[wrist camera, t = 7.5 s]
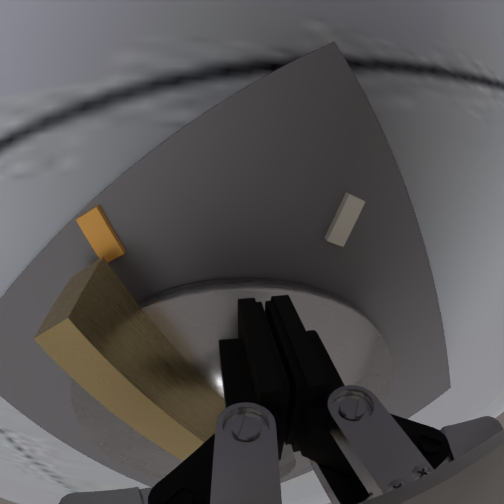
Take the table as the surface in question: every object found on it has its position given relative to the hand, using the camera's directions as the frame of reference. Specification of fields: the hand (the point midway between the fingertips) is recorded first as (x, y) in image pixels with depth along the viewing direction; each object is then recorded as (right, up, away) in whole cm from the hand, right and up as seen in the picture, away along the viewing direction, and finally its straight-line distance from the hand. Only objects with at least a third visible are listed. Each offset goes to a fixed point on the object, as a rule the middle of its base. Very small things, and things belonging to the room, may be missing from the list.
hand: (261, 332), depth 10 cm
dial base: (-2, -5, +7) cm, 9 cm away
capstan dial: (-2, -5, +5) cm, 7 cm away
